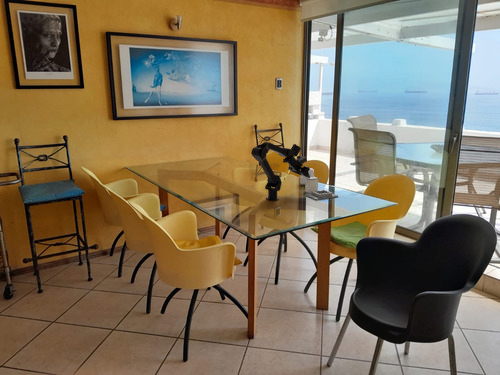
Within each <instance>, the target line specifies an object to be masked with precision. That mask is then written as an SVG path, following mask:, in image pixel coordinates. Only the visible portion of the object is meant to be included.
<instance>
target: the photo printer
mask: <svg viewBox="0 0 500 375" xmlns="http://www.w3.org/2000/svg"><path fill="white" fill-rule="evenodd" d="M309 168H310V167H309ZM308 172H309V175H310V177H315V170H314V168H310V170H309V171H308ZM306 178H307V177H305V176H303V175H302V176H301V175H300V183H299V184H300V185H306Z"/></svg>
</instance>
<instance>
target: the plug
mask: <svg viewBox="0 0 500 375" xmlns="http://www.w3.org/2000/svg"><path fill="white" fill-rule="evenodd" d="M304 190H305V193H307V194H311V193H312V191H319V177H316V176H314V177H310V178H306V184H305V188H304Z"/></svg>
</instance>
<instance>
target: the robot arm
mask: <svg viewBox="0 0 500 375" xmlns="http://www.w3.org/2000/svg"><path fill="white" fill-rule="evenodd" d="M301 150H302V147H301V146H299V145H297V144H296V143H293V144H292V146H291V148H288V147H287V148H286V147H282V146H279V145H276V144H274V143H272V142H270V141H264V142H263V143H259V144H258V145H256V146H254V147H253V148H252V149H251V155H252V157H253V158H254V159H255V160H256V161H258V163H259V165H260V166H261V168H262V170H263V172H264V173H265V176H266V178H267V180H266V181H267V182H266V184H265V185H264V186H265V187H264V189H265V190H267V197H265V199H266V200H267V201H269V202H273V201H279V200H280V198H278V192H280V190H281V188H282V183H283V182H282V178H281V176H280V175H279V174H275V172H274V171H273V169H272V167H271V164H270V163H269V160H267V154H268V153H269V151H271V152H274V153H277V154H278V155H279V156H280V157H283V159H282V163H284V164H285V163H286V164H288V171H290V172H291V173H294V174H297V175H299V176H300V177H301V176H302V175H303V176H305V177H307V178H310V175H309V172H308V171H309V170H310V167H309V166H307V165H304V164H305V163H307V162H308V160H307V156H303V155H301V156H300V154H299V153H300V152H301ZM295 157H296V158H295Z"/></svg>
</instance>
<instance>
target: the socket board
mask: <svg viewBox="0 0 500 375" xmlns="http://www.w3.org/2000/svg"><path fill="white" fill-rule="evenodd" d="M305 197H307V198H309V199H311V200H314V201H321V200H328V199H333V198H339V195H338V194H335V193H333V192H331V191H329V190H325V189H321V190H319V189H318V191H312V193H307V194H305Z"/></svg>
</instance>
